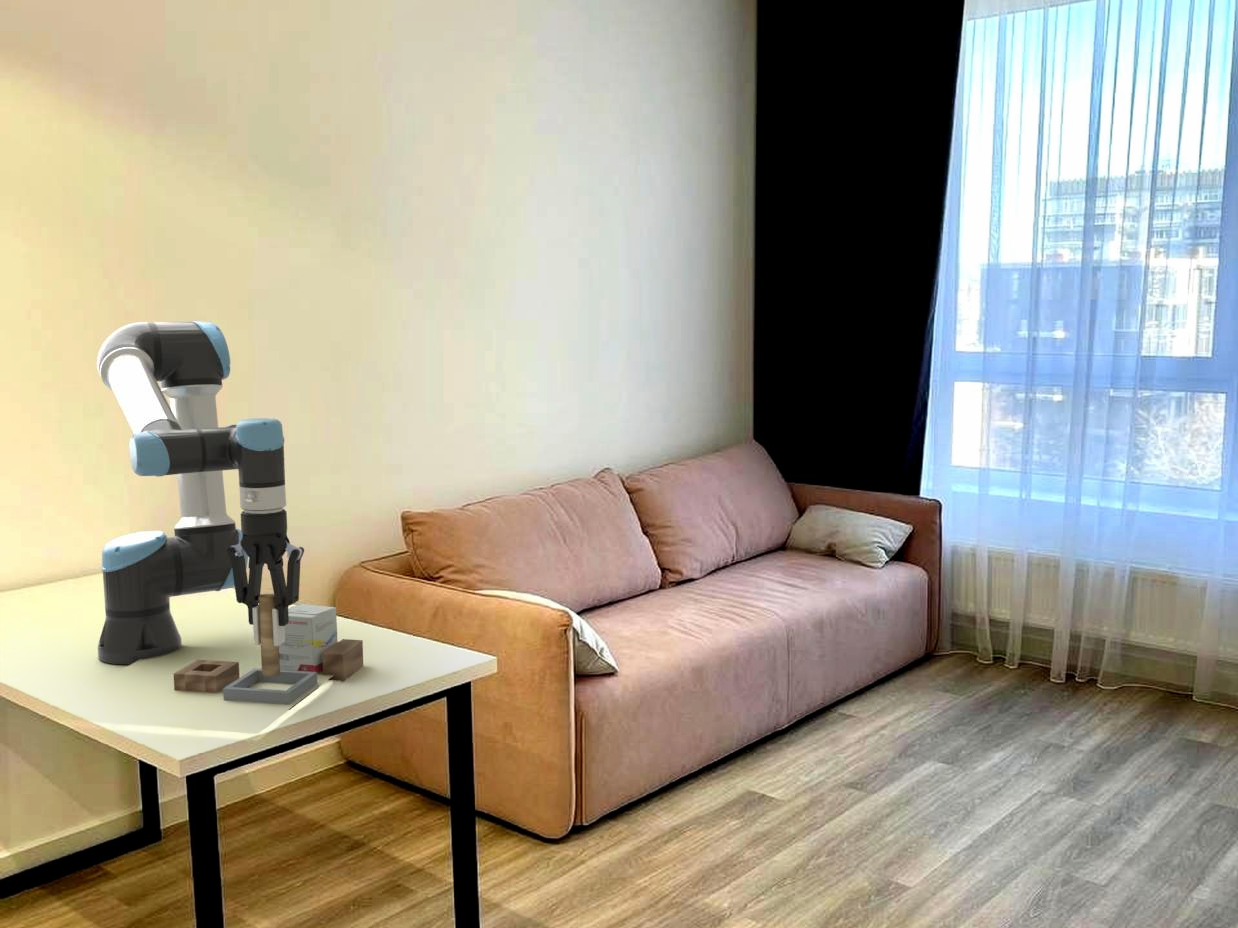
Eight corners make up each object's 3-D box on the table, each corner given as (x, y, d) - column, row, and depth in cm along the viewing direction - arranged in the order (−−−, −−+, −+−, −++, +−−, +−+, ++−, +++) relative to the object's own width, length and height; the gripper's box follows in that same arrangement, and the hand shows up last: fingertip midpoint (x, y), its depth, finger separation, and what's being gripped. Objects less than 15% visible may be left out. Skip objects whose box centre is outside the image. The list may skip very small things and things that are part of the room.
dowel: (267, 670, 202) (263, 593, 200) (283, 671, 202) (279, 593, 200) (258, 676, 199) (255, 597, 197) (274, 677, 199) (271, 598, 197)
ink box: (340, 666, 218) (338, 605, 216) (314, 680, 210) (311, 617, 208) (301, 661, 221) (298, 601, 219) (274, 675, 213) (271, 613, 211)
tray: (223, 705, 197) (223, 688, 196) (255, 684, 208) (254, 668, 207) (289, 709, 195) (288, 692, 194) (317, 688, 205) (317, 672, 205)
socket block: (174, 695, 202) (173, 673, 201) (199, 680, 210) (197, 659, 209) (216, 698, 200) (215, 676, 200) (239, 683, 208) (238, 661, 208)
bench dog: (323, 679, 210) (322, 653, 209) (343, 664, 219) (342, 639, 218) (343, 681, 209) (342, 654, 209) (363, 665, 218) (362, 640, 217)
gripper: (208, 512, 194) (215, 647, 197) (297, 514, 191) (303, 651, 195) (231, 504, 201) (237, 634, 205) (317, 507, 199) (322, 639, 202)
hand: (269, 642), depth 200 cm, fingers closed on dowel, 3 cm apart
